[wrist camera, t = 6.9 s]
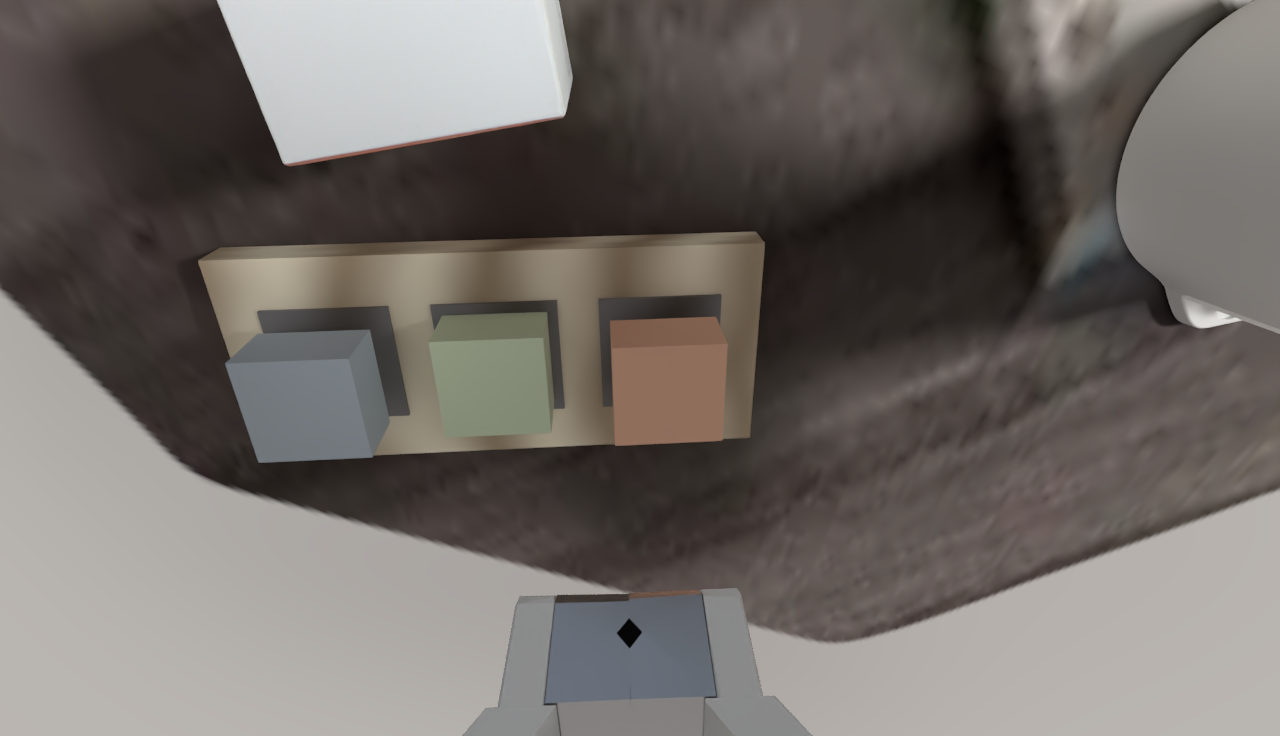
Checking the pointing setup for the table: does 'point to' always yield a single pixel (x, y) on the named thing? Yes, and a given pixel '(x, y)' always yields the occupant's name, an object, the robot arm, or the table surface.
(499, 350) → the sage button
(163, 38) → the table surface
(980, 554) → the table surface
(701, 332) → the terracotta button
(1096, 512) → the table surface
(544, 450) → the table surface
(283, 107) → the small box
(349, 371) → the slate button
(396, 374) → the button board
